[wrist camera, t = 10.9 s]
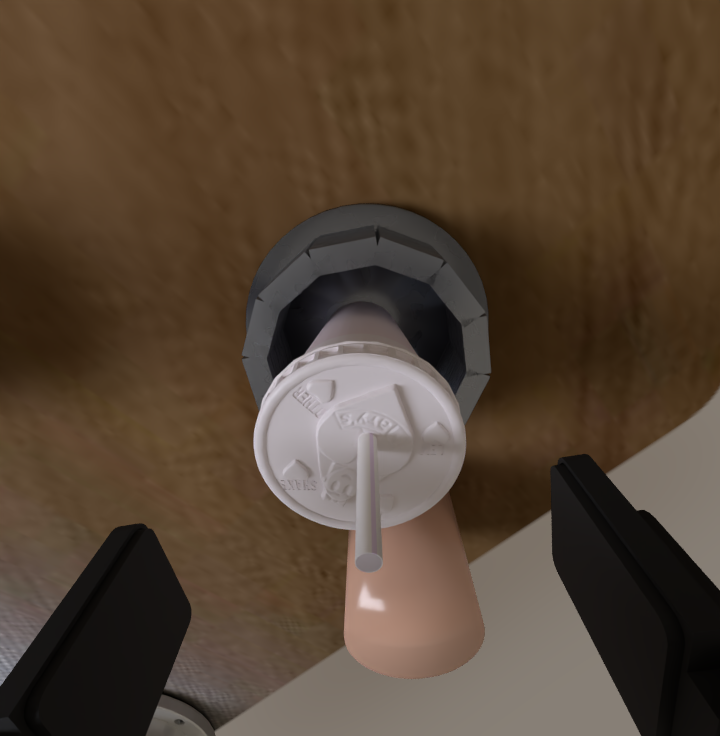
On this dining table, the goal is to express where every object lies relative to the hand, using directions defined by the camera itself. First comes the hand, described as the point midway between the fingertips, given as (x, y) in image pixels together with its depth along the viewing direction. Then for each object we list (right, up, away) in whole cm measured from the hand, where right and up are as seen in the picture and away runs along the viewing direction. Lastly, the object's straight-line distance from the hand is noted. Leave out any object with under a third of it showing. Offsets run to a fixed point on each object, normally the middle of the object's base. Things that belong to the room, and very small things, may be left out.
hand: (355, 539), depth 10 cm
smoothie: (0, +6, +12) cm, 13 cm away
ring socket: (0, +6, +12) cm, 14 cm away
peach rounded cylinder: (+3, -4, +17) cm, 17 cm away
